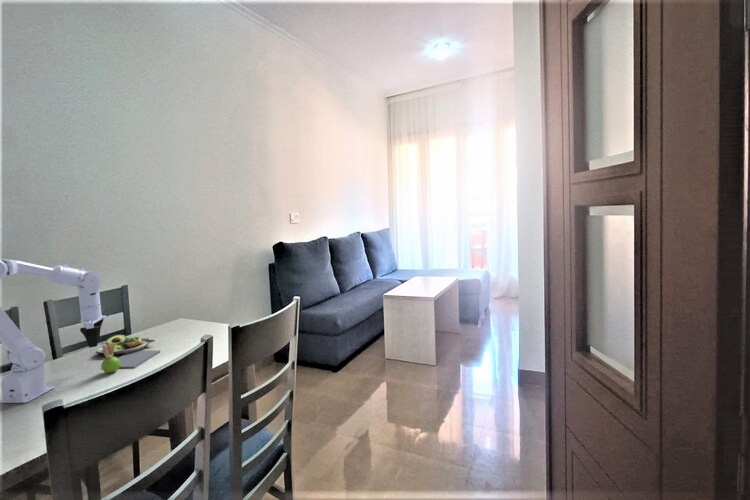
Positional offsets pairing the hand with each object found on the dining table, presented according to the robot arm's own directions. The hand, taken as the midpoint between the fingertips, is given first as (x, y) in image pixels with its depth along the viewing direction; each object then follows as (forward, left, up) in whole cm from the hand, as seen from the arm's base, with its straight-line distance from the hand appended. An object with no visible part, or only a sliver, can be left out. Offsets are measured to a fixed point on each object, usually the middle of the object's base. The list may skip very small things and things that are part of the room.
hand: (94, 343), depth 129 cm
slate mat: (+10, -6, -10) cm, 15 cm away
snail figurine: (-1, -6, -10) cm, 12 cm away
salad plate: (+21, +5, -10) cm, 24 cm away
